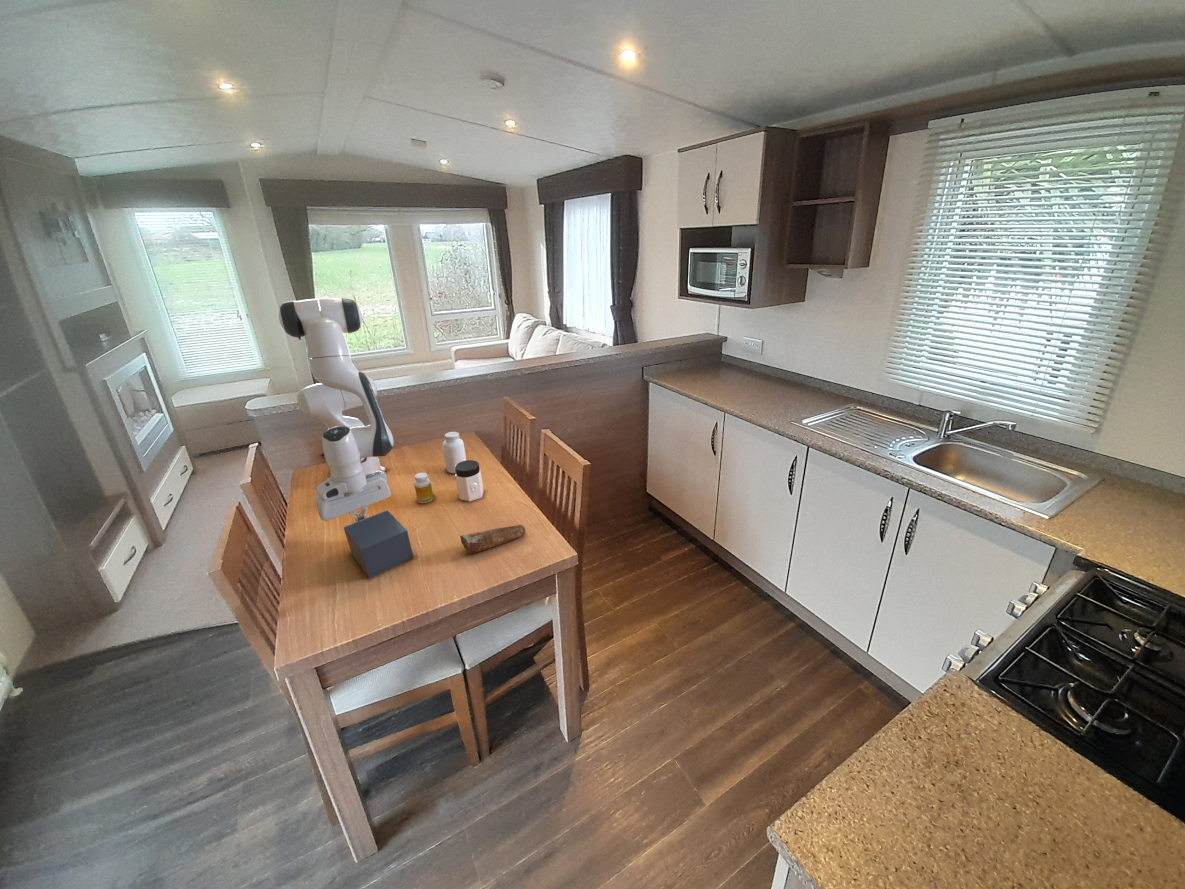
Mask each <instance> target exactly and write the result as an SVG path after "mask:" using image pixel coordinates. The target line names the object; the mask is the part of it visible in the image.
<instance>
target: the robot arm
mask: <svg viewBox="0 0 1185 889" xmlns="http://www.w3.org/2000/svg"><path fill="white" fill-rule="evenodd" d="M278 320H279V324H280V326H281V327H282V329H283V330H284V331H285V333H286V334H287V335H289V336H290V337H293V338H297V339H298V340H299V341H302V339H303V338H305V348H306V354H307V360H308V364H309V368H310V371H311V374H312V376H313V378H314V379H315V380H316V381H317V382H318V383H315V384H311V385H308V386H306V387H304V388H302V389H300V390H299V392H298V394H297V395H296V401H297V402H296V403H297V407H298V408H299V409H300V411H301V412H302V413H303V414H305V415H306V416H308V417H311V418H314V419H316V420H318V421H319V422H321V423H322V424H324V425H325V427H326V428H327V429H326V430H325V431H324V432H322V435H321V443H322V444H321V445H322V450H323V453H321V457H323V456H324V459H325V463H326V464H327V466H328V468H329V469H330V472H329V477H328V478H326V479H325V480H324V481H322V482H320V483H319V484H318V485H316V487H315V491H316V493H317V496H316V500H315V503H316V510H317V513H318V516H319V518H320V519H321V520H322V521H324V522H329V521H331V520H334V519H336V518H339V517H341V516H344V515H347V514H349V515H350V516H351V517H353V518H354V521H355V522H357V521H360V520H363V519H365V518H367V512H368V509H369V507H368V506H370V505H373V504H376V503H378V502H381V501H384V500H386V499H389V498H390V497H391V495H392V491H391V488H390V486H389V484H388V475H387V473H386V471H387V469H386V467H385V466H383V465H381V462H380V459H379V458H381V457H386V456H388V454H389V453H390V452H392V450H393V448H394V444H395V442H394V436H393V434H392V431H391V430H390V428H389V426H388V424H387V421H386V419H385V417H384V414H383V412H382V409H381V406H380V403H379V401H378V398H377V395H378V387H377V384H376V382H375V380H373V379H372V378H371V377H369V376H367V375H366V374H365V372H363V371H360V370H358V369H357V367H356V366H355V365H354V363H353V361H352V357H351V353H350V348H349V344H348V341H347V338H346V335H345V334H347V333H348V334H352V333H356V332H358V331H359V330H360V329H361V326H362V324H363V314H362V311H361V309H360V307H359V306H358V304H357V302H356V301H355V300H353V299H352V298H351V299H350V298H345V297H341V298H330V297H320V298H310V299H302V300H289V301H285V302H283V303H282V304H280V307H279V312H278ZM359 407H363V408H364V411H365V414H366V416H367V419H368V422H369V424H367V425H365V424H364V423H363V421H362V420H360V419H359V418H356V417H352V416H346V415H343V412H345V411H346V410H351V409H356V408H359ZM360 509H361V512H360V513H357V514H356V511H358V510H360Z"/></svg>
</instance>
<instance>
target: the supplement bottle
mask: <svg viewBox="0 0 1185 889" xmlns="http://www.w3.org/2000/svg"><path fill="white" fill-rule="evenodd" d="M414 480H415V481H414V483H413V485H414V490H415V495H416V500H417V502H418V503H420V504H427V503H430V502H432V501H433V500H434V492H433V487H432V483H431V480H430V478H428V474H427V473H426V472H418V473H416V474H415V475H414Z"/></svg>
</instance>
